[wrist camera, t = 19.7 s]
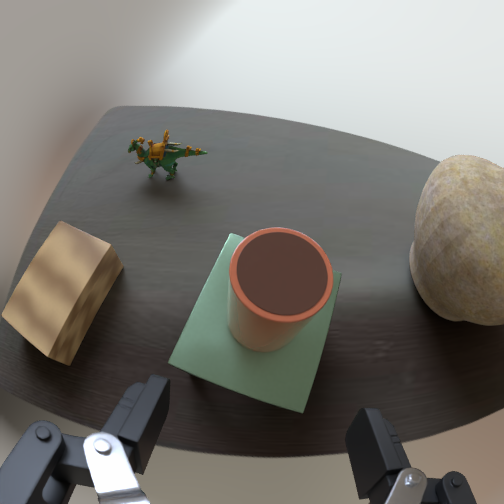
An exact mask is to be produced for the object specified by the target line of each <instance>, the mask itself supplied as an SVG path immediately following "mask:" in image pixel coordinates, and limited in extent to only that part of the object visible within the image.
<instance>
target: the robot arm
mask: <svg viewBox="0 0 504 504" xmlns="http://www.w3.org/2000/svg"><path fill="white" fill-rule="evenodd" d="M169 400H170V379H168V378H165V377H161V376H158V375H154V374H152V375H151V376H150V377H149V379H148V381H147V383H146V384H143V383H140V382H136V383H135V384H133V385H131V386H130V387H128V388H127V390H126V391H125V393H124V395H123V396H122V398H121V399H120V401H119V402H118V405H117V406H116V407H115V409H114V410H113V412H112V414H111V415H110V417H109V418H108V420H107V422H106V423H105V425H104V426H103V428H102V429H101V431H100V432H97V433H93V434H91V435H89V436H88V437H78V436H72V435H67V434H63V433H61V431H60V429H59V428H58V427H57V426H56V425H55V424H53V423H51V422H49V421H44V420H43V421H37V422H34V423H32V424H31V425H30V426H29V427H28V429H27V430H26V431H25V433H24V434H23V435H22V437H21V438H20V440H19V441H18V443H17V444H16V445H15V447H14V448H13V450H12V452H11V453H10V454H9V456H8V457H7V458H6V460H5V461H4V463H3V464H2V466H1V468H0V504H68V502H69V500H70V497H71V495H72V493H73V491H74V488H75V486H76V484H78V485H83V486H88V487H95V489H96V492H97V495H98V501H99V504H150V502H149V500H148V498H147V497H146V495H145V493H144V492H143V491H142V490H141V488H140V486H139V483H138V481H137V479H136V477H135V475H134V474H135V472H136V473H139V474H142V475H143V474H144V471H145V469H146V466H147V464H148V461H149V458H150V456H151V454H152V451H153V449H154V446H155V444H156V441H157V439H158V436H159V434H160V432H161V429H162V427H163V424H164V422H165V419H166V417H167V414H168V410H169ZM345 442H346V447H347V450H348V454H349V458H350V462H351V467H352V471H353V475H354V479H355V483H356V487H357V492H358V496H359V499H366V498H369V500H370V503H369V504H477V503H476V501H475V498H474V496H473V493H472V491H471V489H470V486H469V484H468V482H467V480H466V478H465V476H463V474H461V473H459V472H455V471H452V472H449V473H447V474H446V475H445V476H444V477H443V478H442V479H436V478H426V476H425V474H424V473H423V472H422V471H421V470H419V469H416V468H412V467H411V465H410V463H409V460H408V458H407V456H406V453H405V451H404V449H403V446H402V444H401V443H400V439H399V437H397V433H396V430H395V428H394V426H393V425H392V424H391V423H390V422H389V421H388V420H387V419H383V417H382V414H381V412H380V410H379V409H378V408H361V409H360V410H359V412H358V413H357V415H356V417H355V419H354V420H353V422H352V424H351V425H350V427H349V429H348V430H347V433H346V438H345Z"/></svg>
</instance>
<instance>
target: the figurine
mask: <svg viewBox="0 0 504 504" xmlns="http://www.w3.org/2000/svg"><path fill="white" fill-rule="evenodd" d="M168 132H169V131H168V130H166V131H165V133H164V138H163V139H164V140H163V142H162V143H158V144H156V143H154V144H153V141H152V140H150V141H148V144H149V146H150V148H149V149H148V150H147V151H145V150H144V148H143V146H142V145H140V144H143V142H144V141H145V139H143V138H142V137H140V138H139V139H137V140H136V141H134V139H132V141H131V145H130V146H129V149H128V152H129V153H131V151H134V150H136V151H137V152H136V153H137V155H138V156H137V157H138V159H139V160H140V161H138V162H137V163H135V164H139V163H141V162H144V163H145V164H146V165H147V166H148V167H149V168H150V169H151V171H152V173H151V174H149V178H150V177H152V176H153V174H154V173H155V169H156V168H157V167H160V166H162V167H163V168H164V170H166V171H168V172H170V175H167V177H166V180H168V179H171V178H172V177H173V178H175V177H174V176H173V175H174V172H175V171H177V170H176V166H177V165H178V163H176V161H175V160H176V159H177V158H179V157H184V156H185V157H188V156H192V155H196V156H197V155H202V154H207V153H208V152H204V151H201V149H199V148H196V151H193V150H191V148H192V147H190V146H187V149H181V148H177V147H173V146H174V145H180V144H182V143H179V144H177V143H168V142H167V141H168V139H169V136H168ZM133 141H134V142H133ZM137 142H141V143H140V144H137ZM168 145H173V146H168ZM172 165H173V168H172ZM168 176H169V177H168Z"/></svg>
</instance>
